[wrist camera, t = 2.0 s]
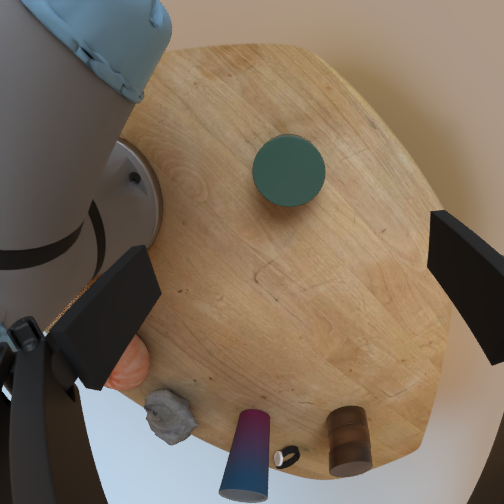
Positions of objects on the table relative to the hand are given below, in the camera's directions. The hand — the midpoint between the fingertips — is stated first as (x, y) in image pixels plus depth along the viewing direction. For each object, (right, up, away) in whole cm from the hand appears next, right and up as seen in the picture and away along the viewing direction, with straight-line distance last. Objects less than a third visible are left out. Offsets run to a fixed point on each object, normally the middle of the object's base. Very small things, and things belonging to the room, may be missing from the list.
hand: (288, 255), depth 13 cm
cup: (-1, -27, +32) cm, 42 cm away
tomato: (-20, -12, +27) cm, 36 cm away
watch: (+6, -41, +34) cm, 53 cm away
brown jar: (+14, -27, +29) cm, 42 cm away
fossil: (-14, -24, +32) cm, 42 cm away
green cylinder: (+2, +8, +14) cm, 17 cm away
